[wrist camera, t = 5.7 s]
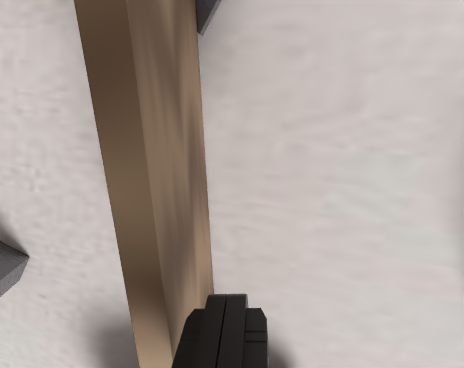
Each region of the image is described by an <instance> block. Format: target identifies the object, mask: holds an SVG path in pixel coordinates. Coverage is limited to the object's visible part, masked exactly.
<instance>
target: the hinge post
mask: <svg viewBox="0 0 464 368" xmlns="http://www.w3.org/2000/svg"><path fill="white" fill-rule="evenodd" d="M220 1H221V0H195V6H196V22H197V32H198V33H199V34H201V35H202V36H203V34H204V32H205V30H206V28H207V26H208V24H209V22H210V20H211V18H212V16H213V15H214V13H215V11H216V9H217V7H218V5H219V3H220Z"/></svg>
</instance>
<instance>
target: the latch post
mask: <svg viewBox="0 0 464 368" xmlns="http://www.w3.org/2000/svg"><path fill="white" fill-rule="evenodd" d="M28 259H29V257H28V256H26V255H24V254H22V253H21V252H19V251H17V250H15V249H13V248H11V247H9V246H7V245H5V244H4V243H2V242H0V297H1V296H2V295H3V294H4V293H5V292H6V291H8V290H9V289H10V288H11V287H12V286H13V285H15V284H16V283H17V282H18V281H19V280H20V278H21V275H22V273H23V271H24V269H25V266H26V264H27V262H28Z"/></svg>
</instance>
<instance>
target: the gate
mask: <svg viewBox="0 0 464 368" xmlns="http://www.w3.org/2000/svg"><path fill="white" fill-rule="evenodd" d="M74 3H75V9H76V14H77V20H78V26H79V31H80V37H81V42H82V48H83V53H84V59H85V65H86V70H87V76H88V81H89V87H90V93H91V98H92V104H93V109H94V115H95V121H96V126H97V132H98V137H99V143H100V148H101V154H102V160H103V165H104V171H105V176H106V182H107V188H108V193H109V199H110V204H111V210H112V216H113V221H114V227H115V232H116V238H117V243H118V249H119V255H120V260H121V266H122V271H123V277H124V283H125V288H126V294H127V299H128V305H129V311H130V316H131V322H132V327H133V333H134V339H135V344H136V350H137V355H138V361H139V366H140V368H171V366H172V363H173V360H174V357H175V353H176V350H177V347H178V344H179V342H180V341H179V340H180V337H181V334H182V332H183V327H184V324H185V321H186V318H187V317H188V316H189V315H190V313H191V312H192V311H193V310H194V309H205V305H206V301H207V297H208V295H209V294H214V290H213V274H212V259H211V243H210V227H209V211H208V195H207V180H206V164H205V148H204V132H203V117H202V101H201V85H200V69H199V53H198V38H197V22H196V6H195V0H74Z"/></svg>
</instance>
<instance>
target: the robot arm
mask: <svg viewBox="0 0 464 368" xmlns="http://www.w3.org/2000/svg"><path fill="white" fill-rule="evenodd" d="M179 341H180V342H179V344H178V347H177V350H176V353H175V357H174V360H173V363H172V366H171V368H269V354H268V334H267V318H266V317H265V315H264V313H263V311H262V310H261V308H248V299H247V294H228V295H227V294H209V295H208V297H207V301H206V305H205V309H194V310H193V311H192V312H191V313H190V315H189V316H188V317H187V318H186V321H185V324H184V327H183V332H182V334H181V337H180V340H179Z"/></svg>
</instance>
